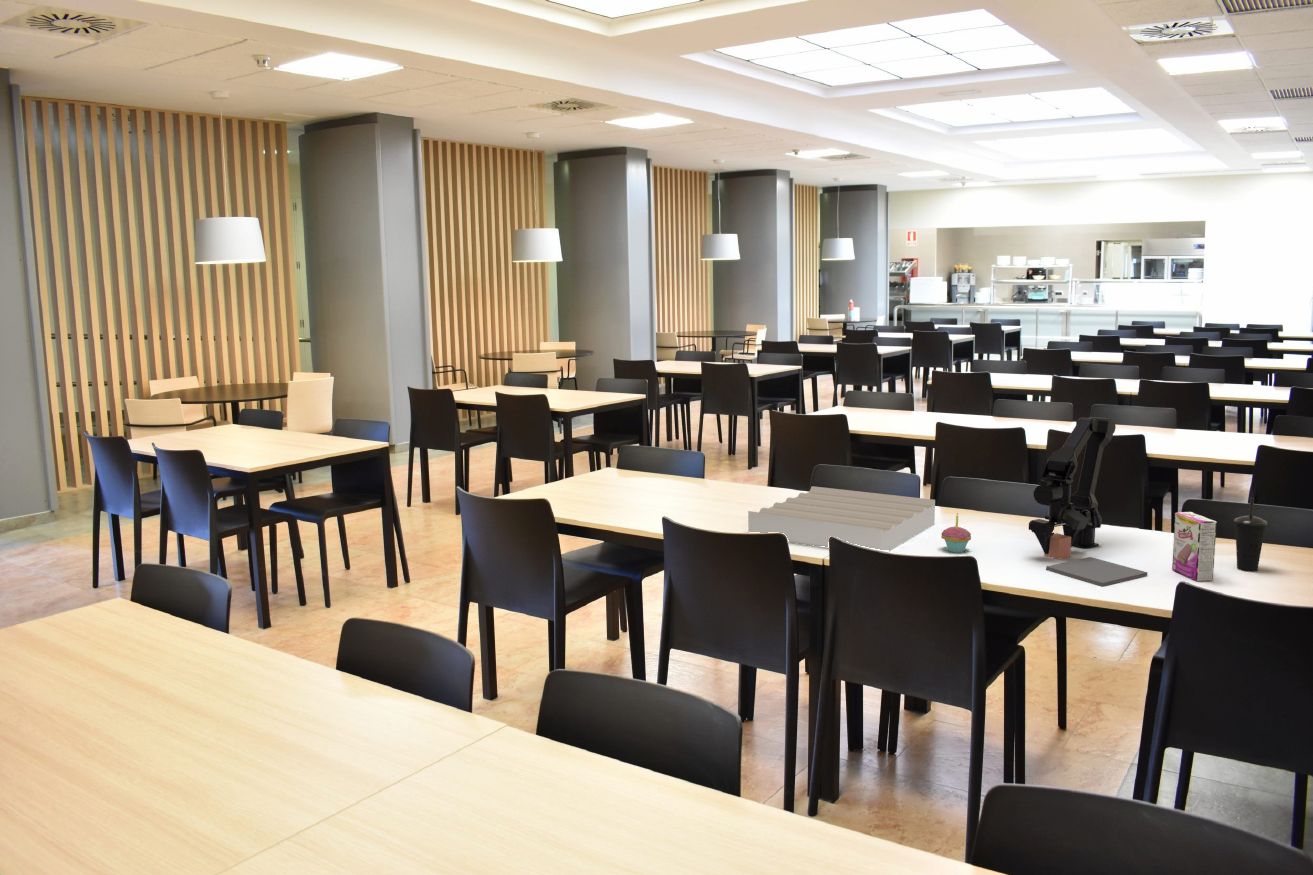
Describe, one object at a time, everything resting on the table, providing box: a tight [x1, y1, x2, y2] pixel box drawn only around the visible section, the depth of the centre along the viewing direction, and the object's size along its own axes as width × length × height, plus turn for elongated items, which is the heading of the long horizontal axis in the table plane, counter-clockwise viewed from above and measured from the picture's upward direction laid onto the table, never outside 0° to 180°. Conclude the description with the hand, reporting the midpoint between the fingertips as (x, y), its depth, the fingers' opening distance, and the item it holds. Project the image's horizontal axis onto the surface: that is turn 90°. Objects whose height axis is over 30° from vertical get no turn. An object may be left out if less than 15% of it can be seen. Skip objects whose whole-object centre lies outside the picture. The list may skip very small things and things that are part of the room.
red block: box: [1043, 532, 1072, 560], centre depth 284 cm, size 5×5×6 cm
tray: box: [747, 485, 936, 552], centre depth 318 cm, size 45×45×9 cm
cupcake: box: [940, 512, 972, 553], centre depth 291 cm, size 9×8×12 cm
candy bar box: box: [1171, 511, 1218, 583], centre depth 261 cm, size 11×5×16 cm, turn 5°
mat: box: [1045, 556, 1148, 587], centre depth 267 cm, size 18×18×1 cm
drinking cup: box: [1233, 497, 1268, 572], centre depth 266 cm, size 8×8×20 cm
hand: (1057, 551), depth 284 cm, fingers open, 9 cm apart
